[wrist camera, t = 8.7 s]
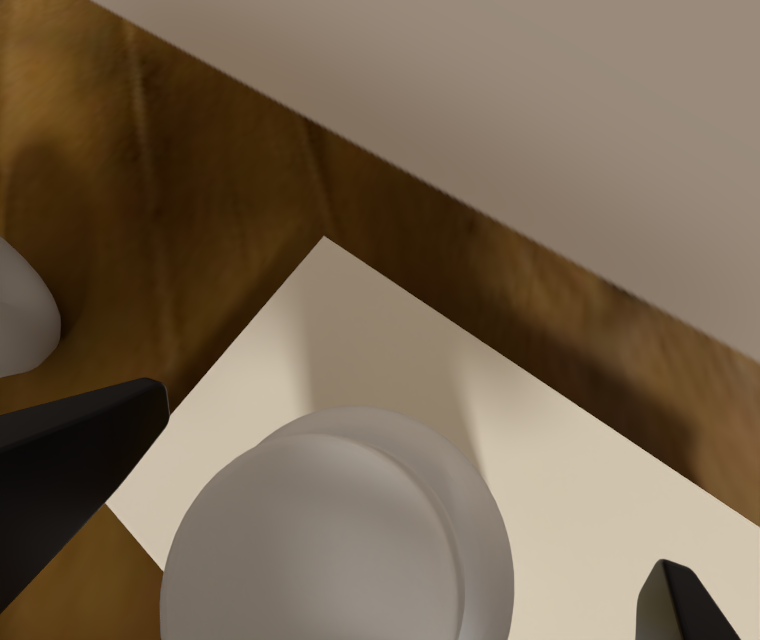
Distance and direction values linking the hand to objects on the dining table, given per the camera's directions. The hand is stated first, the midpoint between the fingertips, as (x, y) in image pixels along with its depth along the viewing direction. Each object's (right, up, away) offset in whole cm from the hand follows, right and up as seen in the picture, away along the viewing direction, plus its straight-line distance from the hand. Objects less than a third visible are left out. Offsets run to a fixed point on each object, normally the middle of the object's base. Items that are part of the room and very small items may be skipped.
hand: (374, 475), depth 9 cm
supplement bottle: (+1, -4, +7) cm, 8 cm away
